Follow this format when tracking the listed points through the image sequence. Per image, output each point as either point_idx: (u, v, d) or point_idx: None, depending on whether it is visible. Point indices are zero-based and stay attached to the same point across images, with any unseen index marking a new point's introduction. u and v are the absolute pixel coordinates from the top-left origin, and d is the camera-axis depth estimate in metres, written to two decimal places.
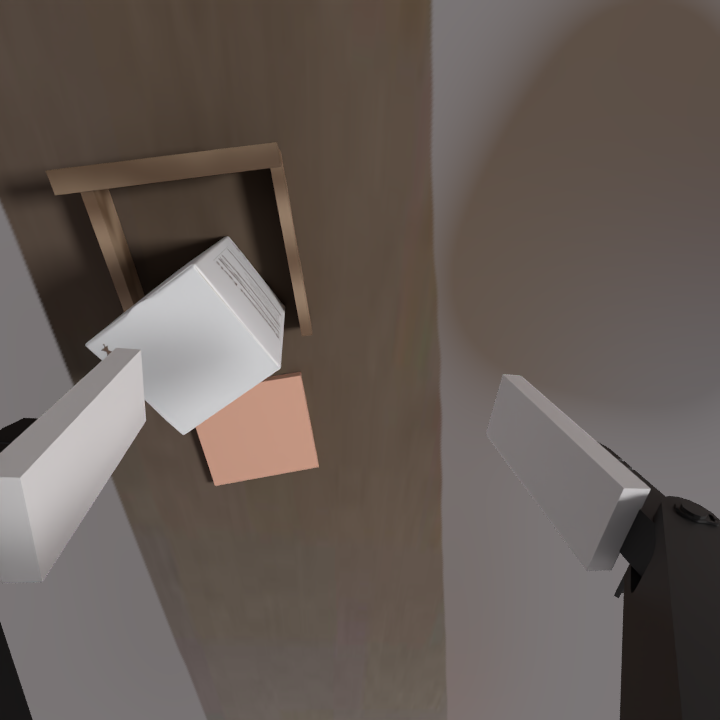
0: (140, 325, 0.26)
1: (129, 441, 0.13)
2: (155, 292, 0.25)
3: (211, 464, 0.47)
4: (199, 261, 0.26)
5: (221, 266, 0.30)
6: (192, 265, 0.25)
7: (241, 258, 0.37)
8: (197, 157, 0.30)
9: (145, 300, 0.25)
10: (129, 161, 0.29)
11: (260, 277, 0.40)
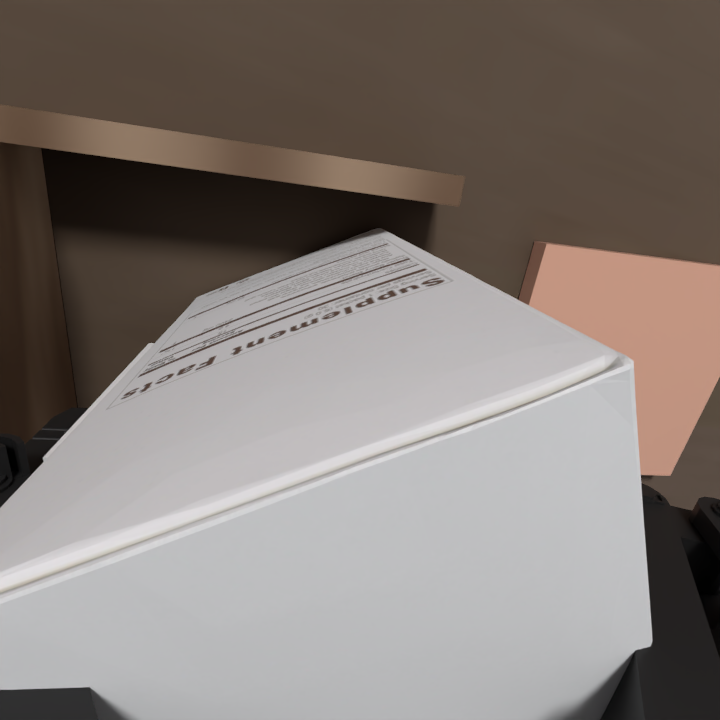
0: None
1: None
2: None
3: None
4: None
5: (144, 385, 0.09)
6: None
7: (234, 290, 0.16)
8: None
9: None
10: None
11: (294, 260, 0.17)
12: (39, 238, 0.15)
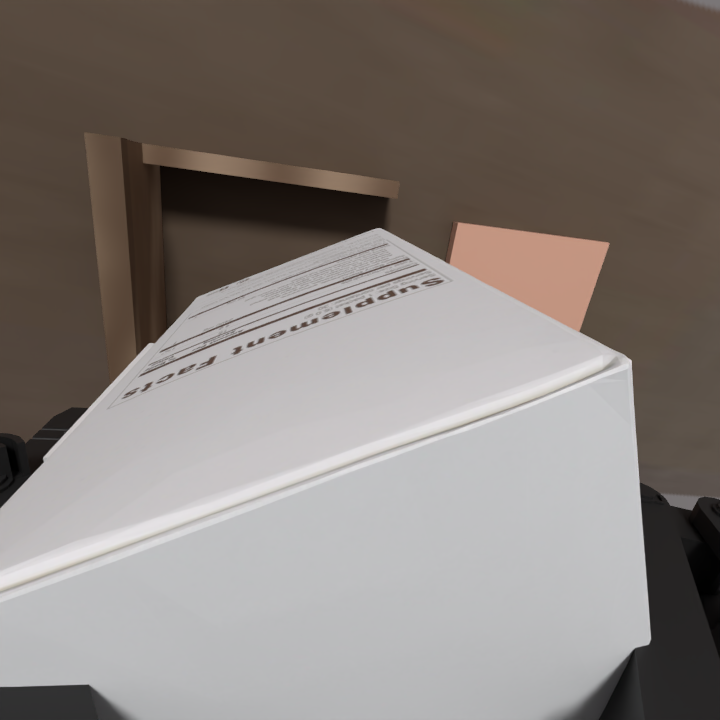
0: None
1: None
2: None
3: None
4: None
5: (145, 385, 0.09)
6: None
7: (234, 290, 0.16)
8: (103, 255, 0.22)
9: None
10: (106, 337, 0.24)
11: (295, 261, 0.17)
12: (157, 217, 0.27)
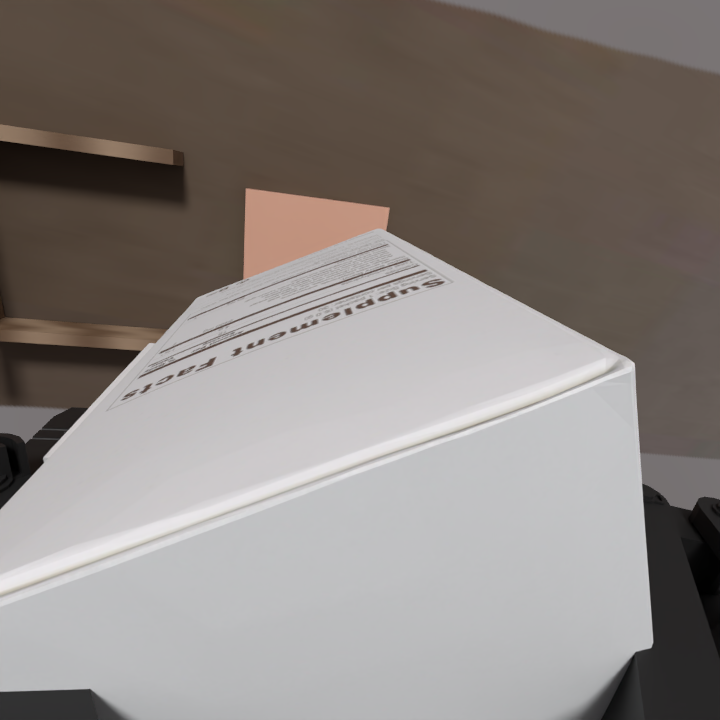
0: None
1: None
2: None
3: None
4: None
5: (144, 387, 0.09)
6: None
7: (234, 290, 0.16)
8: None
9: None
10: None
11: (295, 261, 0.17)
12: None
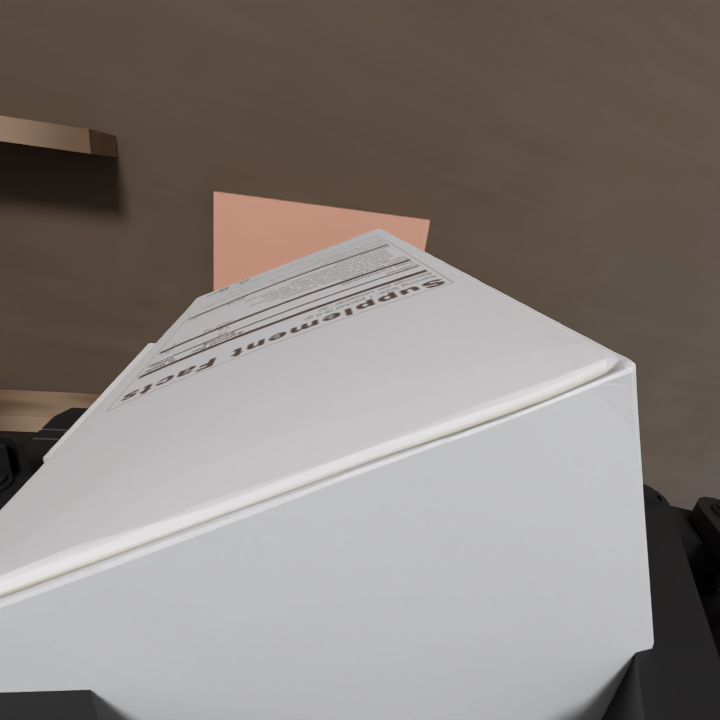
0: None
1: None
2: None
3: None
4: None
5: (144, 387, 0.09)
6: None
7: (234, 291, 0.16)
8: None
9: None
10: None
11: (295, 261, 0.17)
12: None
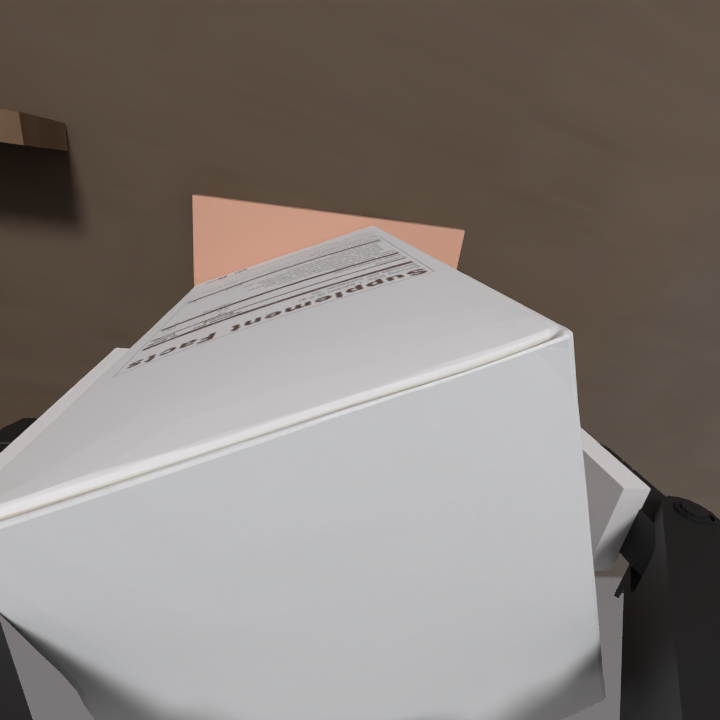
0: None
1: None
2: None
3: None
4: (5, 466, 0.07)
5: (148, 357, 0.10)
6: None
7: (232, 278, 0.17)
8: None
9: (87, 707, 0.07)
10: None
11: (291, 253, 0.18)
12: None
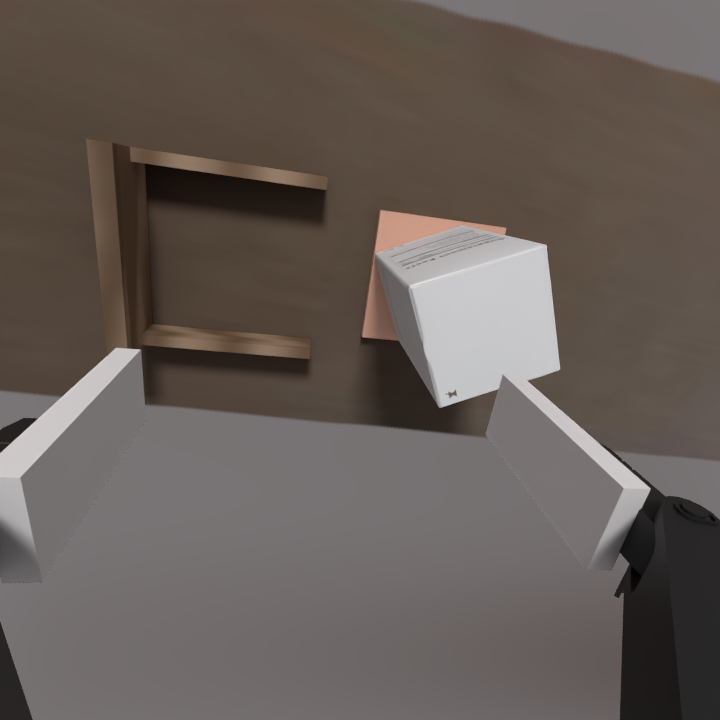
0: (443, 357, 0.27)
1: (129, 441, 0.13)
2: (420, 331, 0.26)
3: None
4: (405, 281, 0.26)
5: (411, 266, 0.29)
6: (409, 288, 0.25)
7: (401, 248, 0.36)
8: (99, 228, 0.30)
9: (423, 343, 0.26)
10: (101, 291, 0.32)
11: (424, 238, 0.38)
12: (142, 203, 0.35)
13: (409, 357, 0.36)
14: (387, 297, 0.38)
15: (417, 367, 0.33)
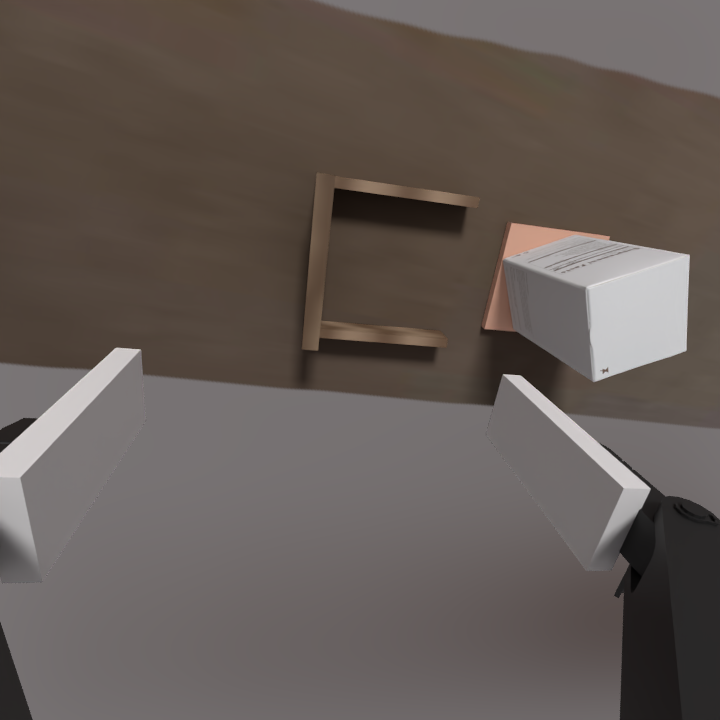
0: (603, 341, 0.35)
1: (129, 441, 0.13)
2: (589, 322, 0.34)
3: None
4: (576, 283, 0.34)
5: (566, 270, 0.37)
6: (587, 289, 0.33)
7: (531, 254, 0.44)
8: (314, 242, 0.37)
9: (590, 331, 0.34)
10: (307, 293, 0.39)
11: (546, 245, 0.45)
12: None
13: (539, 344, 0.44)
14: (515, 295, 0.46)
15: (558, 351, 0.40)
